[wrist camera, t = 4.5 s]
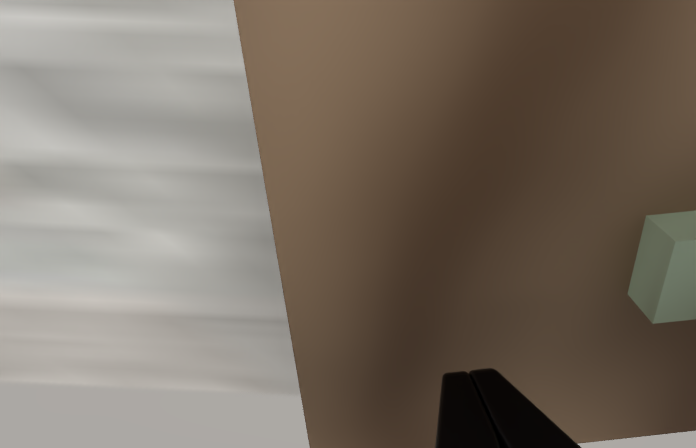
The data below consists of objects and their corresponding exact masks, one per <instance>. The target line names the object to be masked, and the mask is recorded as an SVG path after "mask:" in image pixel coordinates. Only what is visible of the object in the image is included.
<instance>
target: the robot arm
mask: <svg viewBox="0 0 696 448" xmlns="http://www.w3.org/2000/svg"><path fill="white" fill-rule="evenodd" d="M435 448H581V447H580V446H579V445H578V444H577V443H575V442H574V441H573V440H572V439H571V438H570V437H569V436H568V435H567V434H566V433H565V432H564V431H562V430H561V429H560V428H559V427H558V426H557V425H556V424H555V423H554V422H553V421H552V420H550V419H549V418H548V417H547V416H546V415H545V414H544V413H543V412H542V411H541V410H540V409H539V408H537V407H536V406H535V405H534V404H533V403H532V402H531V401H530V400H529V399H528V398H527V397H525V396H524V395H523V394H522V393H521V392H520V391H519V390H518V389H517V388H516V387H515V386H513V385H512V384H511V383H510V382H509V381H508V380H507V379H506V378H505V377H504V376H503V375H502V374H500V373H499V372H498V371H497V370H495V369H493V368H485V369H476V370H471V371H470V372H469V374H468V373H467V372H466V371H458V372H449V373H445V374H443V376H442V383H441V393H440V403H439V413H438V423H437V433H436V443H435Z"/></svg>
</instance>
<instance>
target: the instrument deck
mask: <svg viewBox="0 0 696 448" xmlns="http://www.w3.org/2000/svg"><path fill="white" fill-rule="evenodd" d="M234 6H235V11H236V17H237V23H238V29H239V35H240V41H241V47H242V53H243V58H244V64H245V70H246V76H247V82H248V88H249V94H250V99H251V105H252V111H253V117H254V123H255V129H256V135H257V140H258V146H259V152H260V158H261V164H262V170H263V176H264V181H265V187H266V193H267V199H268V205H269V211H270V217H271V223H272V228H273V234H274V240H275V246H276V252H277V258H278V264H279V269H280V275H281V281H282V287H283V293H284V299H285V305H286V310H287V316H288V322H289V328H290V334H291V340H292V346H293V351H294V357H295V363H296V369H297V375H298V381H299V387H300V392H301V398H302V404H303V410H304V416H305V422H306V428H307V433H308V439H309V445H310V448H435V443H436V433H437V423H438V413H439V403H440V393H441V383H442V376H443V374H445V373H449V372H458V371H466V372H467V373H468V374H469V372H470V371H471V370H476V369H485V368H493V369H495V370H497V371H498V372H499V373H500V374H502V375H503V376H504V377H505V378H506V379H507V380H508V381H509V382H510V383H511V384H512V385H513V386H515V387H516V388H517V389H518V390H519V391H520V392H521V393H522V394H523V395H524V396H525V397H527V398H528V399H529V400H530V401H531V402H532V403H533V404H534V405H535V406H536V407H537V408H539V409H540V410H541V411H542V412H543V413H544V414H545V415H546V416H547V417H548V418H549V419H550V420H552V421H553V422H554V423H555V424H556V425H557V426H558V427H559V428H560V429H561V430H562V431H564V432H565V433H566V434H567V435H568V436H569V437H570V438H571V439H572V440H573V441H574V442H575V443H586V442H595V441H603V440H604V441H605V440H612V439H613V440H614V439H622V438H631V437H641V436H650V435H659V434H668V433H677V432H686V431H695V430H696V0H234Z"/></svg>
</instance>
